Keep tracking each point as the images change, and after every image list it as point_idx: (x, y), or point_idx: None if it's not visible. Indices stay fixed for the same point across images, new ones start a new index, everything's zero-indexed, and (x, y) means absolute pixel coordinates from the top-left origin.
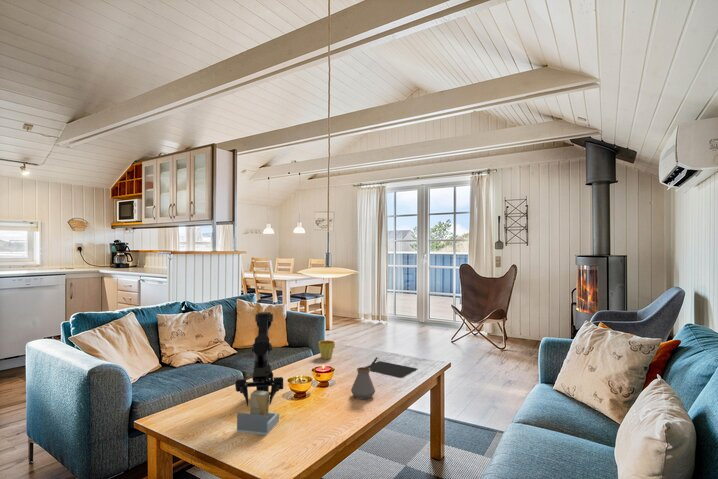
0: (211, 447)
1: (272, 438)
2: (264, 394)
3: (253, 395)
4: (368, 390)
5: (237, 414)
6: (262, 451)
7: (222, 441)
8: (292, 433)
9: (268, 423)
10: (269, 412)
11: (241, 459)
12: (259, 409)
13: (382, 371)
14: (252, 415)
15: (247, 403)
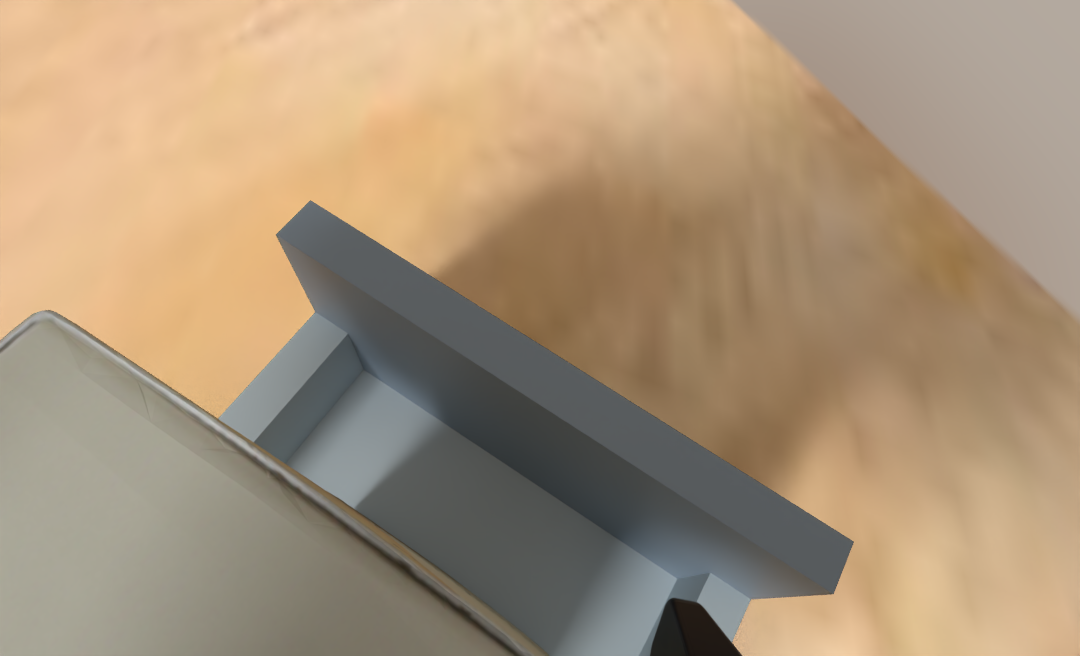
0: (946, 294)
1: None
2: (13, 378)
3: (530, 649)
4: None
5: (838, 541)
6: (475, 67)
7: (860, 379)
8: (41, 277)
9: (286, 354)
10: None
11: (658, 28)
12: (365, 518)
13: None
14: (548, 354)
15: (697, 622)
